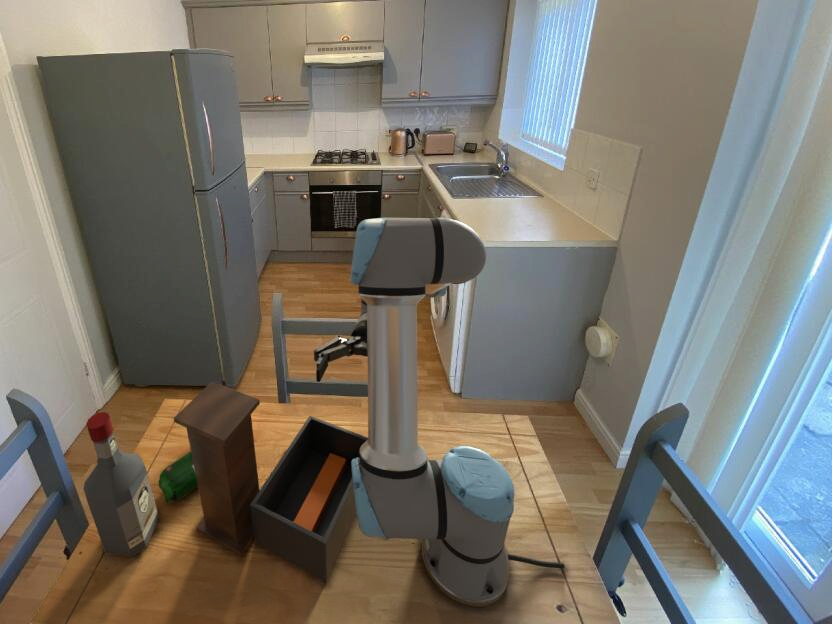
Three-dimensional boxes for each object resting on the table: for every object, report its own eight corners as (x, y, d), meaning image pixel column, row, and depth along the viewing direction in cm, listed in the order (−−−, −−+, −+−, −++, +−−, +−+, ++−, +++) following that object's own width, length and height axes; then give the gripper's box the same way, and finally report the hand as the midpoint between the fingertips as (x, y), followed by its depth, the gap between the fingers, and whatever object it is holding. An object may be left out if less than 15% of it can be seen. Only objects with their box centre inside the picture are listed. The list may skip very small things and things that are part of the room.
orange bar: (346, 467, 95) (346, 459, 94) (305, 552, 79) (305, 544, 78) (330, 460, 97) (330, 452, 96) (287, 543, 80) (286, 534, 79)
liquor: (97, 555, 80) (55, 439, 68) (123, 508, 88) (89, 398, 77) (142, 560, 79) (107, 444, 67) (164, 513, 87) (136, 402, 76)
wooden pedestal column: (270, 510, 87) (259, 399, 76) (241, 557, 79) (224, 440, 67) (228, 489, 92) (211, 381, 80) (197, 531, 84) (173, 418, 72)
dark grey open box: (372, 475, 94) (373, 439, 90) (326, 583, 75) (325, 544, 71) (311, 450, 101) (309, 415, 96) (254, 543, 81) (249, 504, 77)
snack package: (234, 467, 97) (231, 450, 95) (168, 512, 87) (164, 494, 85) (219, 448, 102) (216, 432, 100) (155, 488, 92) (151, 471, 90)
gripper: (418, 353, 103) (410, 407, 84) (321, 340, 110) (293, 387, 90) (419, 325, 101) (412, 374, 82) (320, 314, 108) (292, 356, 89)
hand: (349, 381), depth 86 cm, fingers open, 13 cm apart
